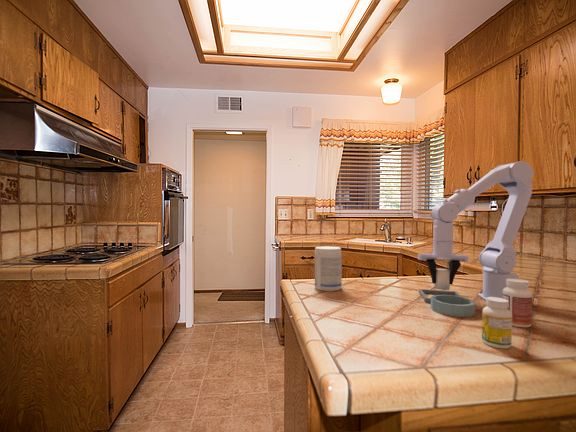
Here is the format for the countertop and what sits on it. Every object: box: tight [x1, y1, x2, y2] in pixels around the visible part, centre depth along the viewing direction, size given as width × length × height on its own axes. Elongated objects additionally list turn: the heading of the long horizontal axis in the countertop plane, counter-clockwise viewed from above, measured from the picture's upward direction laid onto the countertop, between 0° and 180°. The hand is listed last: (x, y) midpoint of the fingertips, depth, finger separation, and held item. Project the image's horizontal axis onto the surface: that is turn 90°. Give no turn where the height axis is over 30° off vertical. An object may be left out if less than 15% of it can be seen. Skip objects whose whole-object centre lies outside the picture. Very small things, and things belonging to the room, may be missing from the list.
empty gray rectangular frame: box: [418, 288, 464, 304], centre depth 104 cm, size 12×12×1 cm
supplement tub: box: [314, 245, 343, 292], centre depth 115 cm, size 10×10×15 cm
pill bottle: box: [502, 278, 533, 328], centre depth 81 cm, size 6×6×11 cm
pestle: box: [433, 268, 451, 291], centre depth 103 cm, size 4×4×6 cm
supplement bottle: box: [481, 297, 513, 350], centre depth 69 cm, size 5×5×10 cm
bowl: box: [429, 294, 477, 318], centre depth 91 cm, size 11×11×3 cm
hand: (442, 283), depth 103 cm, fingers closed on pestle, 4 cm apart
